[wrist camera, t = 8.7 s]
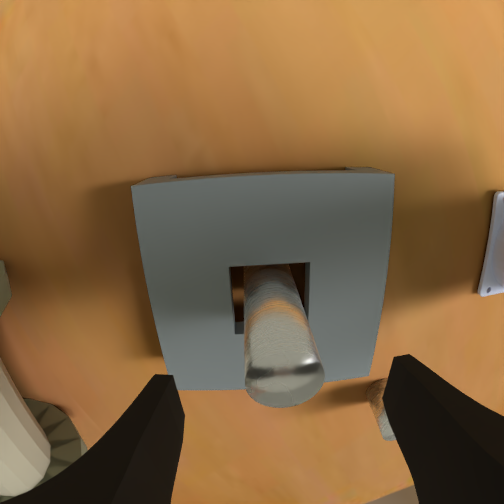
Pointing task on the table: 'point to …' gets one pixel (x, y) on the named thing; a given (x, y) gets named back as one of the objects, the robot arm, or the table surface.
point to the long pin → (278, 339)
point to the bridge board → (264, 263)
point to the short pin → (380, 408)
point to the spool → (30, 432)
